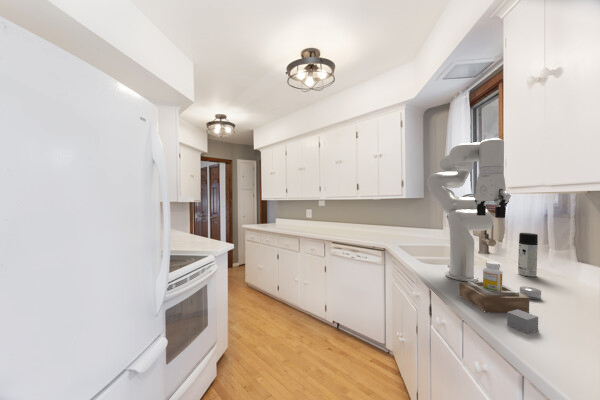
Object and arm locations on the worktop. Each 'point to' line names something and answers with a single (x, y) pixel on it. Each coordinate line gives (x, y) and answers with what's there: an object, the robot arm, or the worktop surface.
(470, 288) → the walnut stand
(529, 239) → the spray can
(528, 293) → the metal tin
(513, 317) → the grey rubber block
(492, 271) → the supplement bottle
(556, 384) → the worktop surface
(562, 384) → the worktop surface
